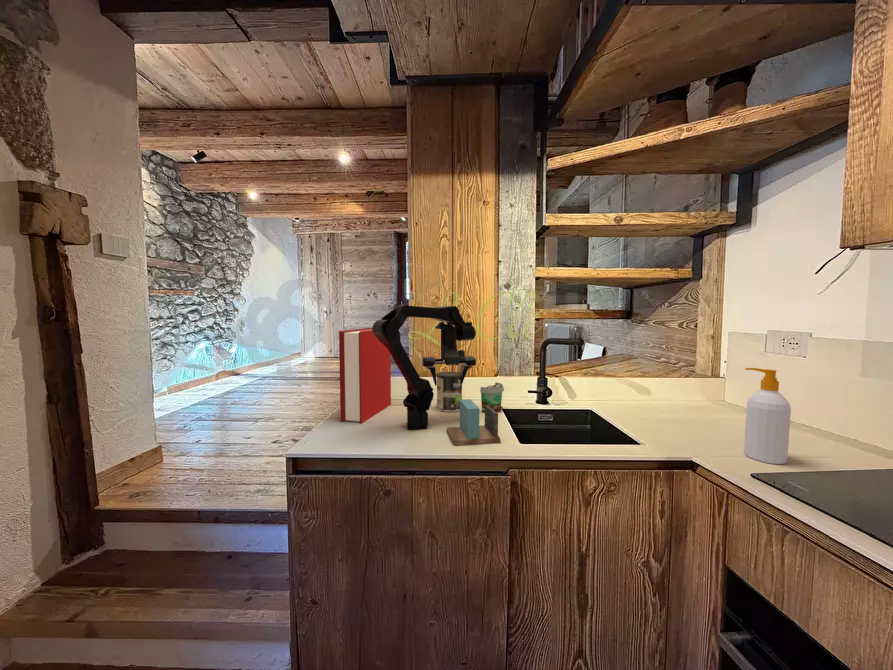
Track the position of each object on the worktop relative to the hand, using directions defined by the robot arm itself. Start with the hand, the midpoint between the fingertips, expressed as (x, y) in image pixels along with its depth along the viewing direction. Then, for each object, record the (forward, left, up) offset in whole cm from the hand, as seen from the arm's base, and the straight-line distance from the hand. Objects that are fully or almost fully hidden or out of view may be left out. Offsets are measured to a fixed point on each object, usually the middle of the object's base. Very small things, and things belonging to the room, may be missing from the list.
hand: (448, 385), depth 127 cm
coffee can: (+3, +14, -13) cm, 19 cm away
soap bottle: (+77, -47, -13) cm, 91 cm away
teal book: (+3, -19, -11) cm, 22 cm away
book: (-29, +14, -13) cm, 34 cm away
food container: (+20, +8, -13) cm, 25 cm away
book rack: (+4, -19, -12) cm, 23 cm away
